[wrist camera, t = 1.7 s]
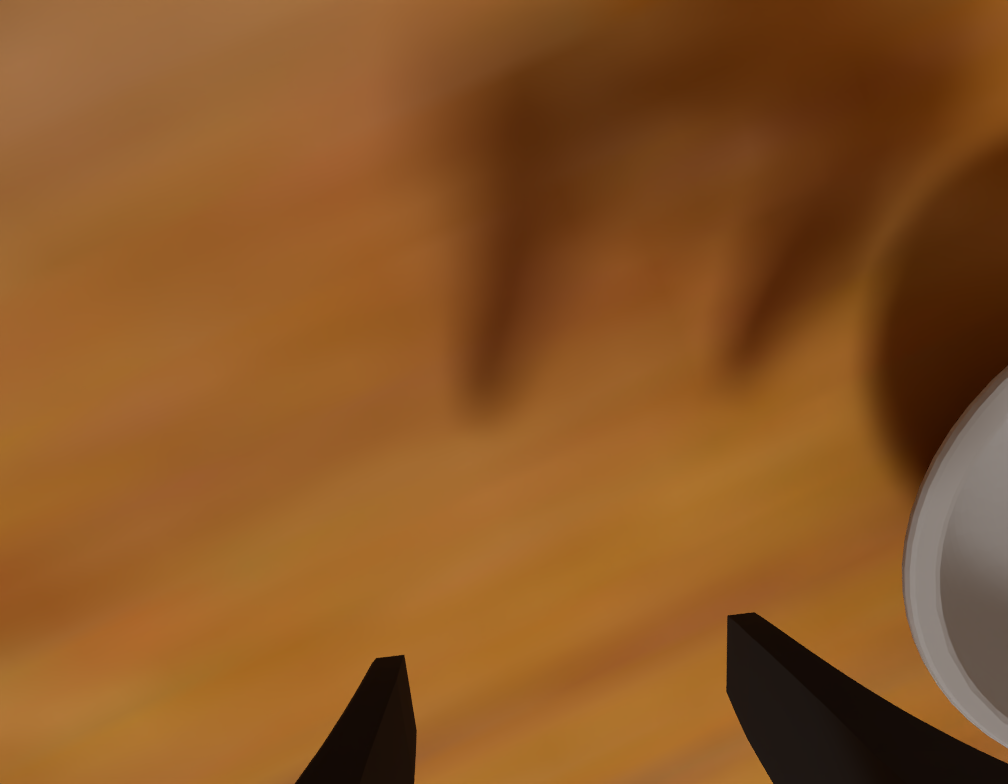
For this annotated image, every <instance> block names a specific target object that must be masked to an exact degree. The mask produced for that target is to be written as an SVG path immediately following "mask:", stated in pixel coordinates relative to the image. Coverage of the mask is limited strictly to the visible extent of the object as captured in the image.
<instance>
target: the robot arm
mask: <svg viewBox="0 0 1008 784" xmlns="http://www.w3.org/2000/svg"><path fill="white" fill-rule="evenodd" d="M726 692H727V694H728V696H729V699H730V701H731V703H732V706H733V708H734V710H735V713H736V715H737V717H738V719H739V722H740V724H741V726H742V728H743V730H744V732H745V735H746V737H747V739H748V741H749V742H750V744H751V746H752V748H753V750H754V751H755V753H756V755H757V756H758V758H759V760H760V762H761V763H762V765H763V767H764V768H765V770H766V772H767V774H768V775H769V777H770V779H771V780H772V782H773V784H1008V764H1007V763H1005V762H1003V761H1001V760H999V759H996V758H994V757H992V756H990V755H988V754H986V753H984V752H981V751H979V750H977V749H975V748H973V747H971V746H969V745H967V744H965V743H963V742H961V741H959V740H957V739H955V738H953V737H951V736H949V735H948V734H946V733H944V732H942V731H940V730H938V729H936V728H934V727H933V726H931V725H929V724H927V723H925V722H923V721H921V720H919V719H918V718H916V717H914V716H912V715H910V714H909V713H907V712H905V711H903V710H902V709H900V708H898V707H897V706H895V705H893V704H892V703H890V702H888V701H887V700H885V699H883V698H882V697H880V696H878V695H877V694H875V693H873V692H872V691H870V690H869V689H867V688H865V687H864V686H862V685H861V684H859V683H857V682H856V681H854V680H853V679H851V678H850V677H848V676H847V675H845V674H844V673H842V672H840V671H839V670H837V669H836V668H834V667H833V666H831V665H830V664H829V663H827V662H826V661H824V660H823V659H821V658H820V657H818V656H817V655H815V654H814V653H812V652H811V651H809V650H808V649H807V648H805V647H804V646H802V645H801V644H799V643H798V642H797V641H795V640H794V639H792V638H791V637H789V636H788V635H787V634H785V633H784V632H782V631H781V630H780V629H778V628H777V627H775V626H774V625H772V624H771V623H770V622H768V621H767V620H765V619H764V618H762V617H761V616H759V615H758V614H756V613H755V612H753V613H745V614H737V615H728V619H727V687H726ZM416 733H417V730H416V724H415V718H414V712H413V706H412V700H411V693H410V687H409V681H408V675H407V669H406V663H405V657H404V655H399V656H391V657H383V658H376V659H375V660H374V662H373V663H372V664H371V666H370V668H369V670H368V671H367V673H366V675H365V677H364V679H363V680H362V682H361V684H360V686H359V687H358V689H357V691H356V692H355V694H354V696H353V697H352V699H351V701H350V702H349V704H348V706H347V707H346V709H345V711H344V712H343V714H342V715H341V717H340V719H339V720H338V722H337V723H336V725H335V726H334V728H333V729H332V731H331V733H330V734H329V736H328V737H327V739H326V740H325V742H324V743H323V745H322V746H321V748H320V749H319V751H318V752H317V753H316V755H315V756H314V758H313V759H312V760H311V762H310V763H309V765H308V766H307V767H306V769H305V770H304V772H303V773H302V774H301V776H300V777H299V779H298V780H297V781H296V783H295V784H414V775H415V757H416Z"/></svg>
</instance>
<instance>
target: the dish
mask: <svg viewBox="0 0 1008 784" xmlns="http://www.w3.org/2000/svg"><path fill="white" fill-rule="evenodd" d="M902 584H903V596H904V603H905V610H906V616H907V619H908V623H909V626H910V630H911V633H912V637H913V640H914V642H915V644H916V647H917V649H918V651H919V653H920V656H921V658H922V660H923V662H924V664H925V665H926V667H927V669H928V670H929V672H930V674H931V675H932V677H933V679H934V681H935V682H936V684H937V685H938V686H939V688H940V689H941V690H942V691H943V693H944V694H945V695H946V697H947V698H948V699H949V701H950V702H951V703H952V704H953V705H954V706H955V707H956V708H957V709H958V710H959V711H960V712H961V713H962V714H963V715H964V716H965V717H966V718H967V719H968V720H969V721H970V722H971V723H973V724H974V725H975V726H976V727H978V728H979V729H980V730H981V731H983V732H984V733H985V734H986V735H988V736H989V737H991V738H993V739H994V740H996V741H997V742H999V743H1000V744H1002V745H1003V746H1005V747H1007V748H1008V366H1007V367H1005V368H1004V369H1003V370H1002V371H1001V372H1000V373H999V374H998V375H997V376H996V377H995V378H993V379H992V380H991V381H990V383H989V384H988V385H987V386H986V387H985V388H984V389H983V390H982V391H981V392H980V394H979V395H978V396H977V397H976V398H975V399H974V400H973V401H972V402H971V403H970V405H969V406H968V407H967V408H966V410H965V411H964V412H963V414H962V415H961V416H960V418H959V419H958V420H957V422H956V423H955V424H954V426H953V427H952V428H951V430H950V431H949V433H948V434H947V436H946V438H945V439H944V441H943V442H942V444H941V446H940V447H939V449H938V451H937V452H936V454H935V456H934V457H933V459H932V461H931V463H930V466H929V468H928V470H927V472H926V474H925V476H924V478H923V480H922V482H921V484H920V487H919V490H918V493H917V496H916V499H915V502H914V504H913V507H912V510H911V514H910V518H909V522H908V527H907V531H906V536H905V542H904V551H903V561H902Z"/></svg>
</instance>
